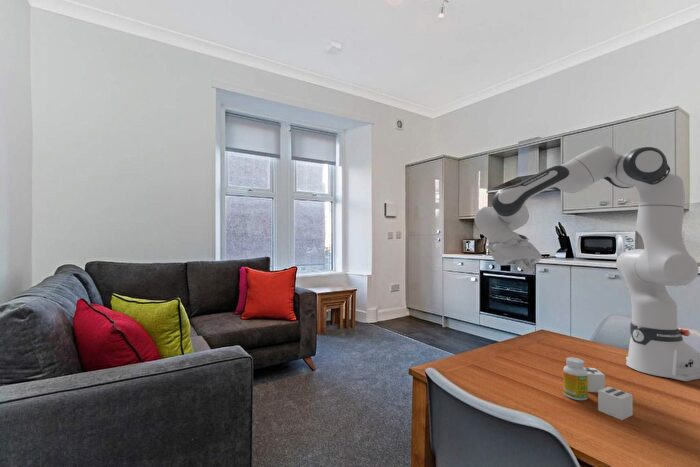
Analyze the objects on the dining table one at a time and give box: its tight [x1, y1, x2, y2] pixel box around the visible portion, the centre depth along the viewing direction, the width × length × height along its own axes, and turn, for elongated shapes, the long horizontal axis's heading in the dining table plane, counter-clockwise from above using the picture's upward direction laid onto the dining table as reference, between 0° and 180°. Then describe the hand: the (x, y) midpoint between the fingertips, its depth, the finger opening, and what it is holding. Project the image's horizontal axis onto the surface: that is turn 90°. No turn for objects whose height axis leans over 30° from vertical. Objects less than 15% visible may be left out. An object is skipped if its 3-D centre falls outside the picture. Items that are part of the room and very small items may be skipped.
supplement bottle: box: [563, 356, 589, 401], centre depth 91 cm, size 5×5×10 cm
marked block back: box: [583, 366, 606, 393], centre depth 96 cm, size 5×5×5 cm
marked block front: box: [597, 386, 634, 421], centre depth 83 cm, size 5×5×5 cm
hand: (530, 272), depth 113 cm, fingers closed
